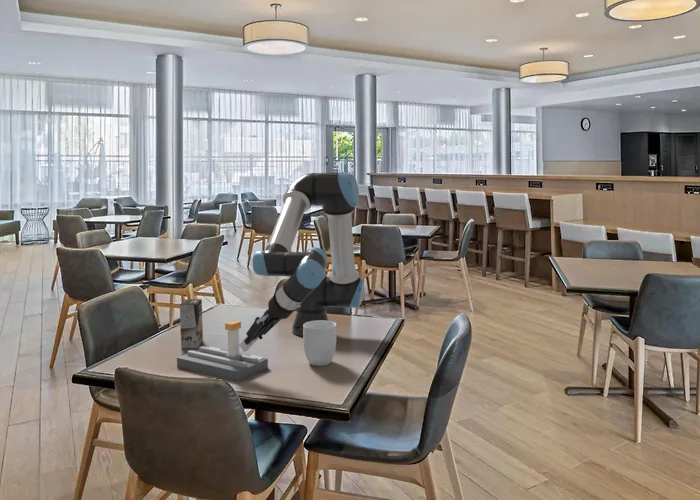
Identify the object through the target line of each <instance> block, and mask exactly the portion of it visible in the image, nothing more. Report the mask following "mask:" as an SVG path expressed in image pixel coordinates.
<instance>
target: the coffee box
mask: <svg viewBox="0 0 700 500" xmlns="http://www.w3.org/2000/svg"><path fill="white" fill-rule="evenodd" d="M202 302H203V301H202V298H194V299H193V298H191V299H190V298H189V299H184V300H183V301H182V302H181V303H179V318H180V319H179V322H180V323H179V324H180V326H179V327H180V348H181V349H199V347H201V344H202V343H203V341H204V334H203V333H204V330H203V326H204V325H203V305H202V304H203V303H202Z"/></svg>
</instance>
